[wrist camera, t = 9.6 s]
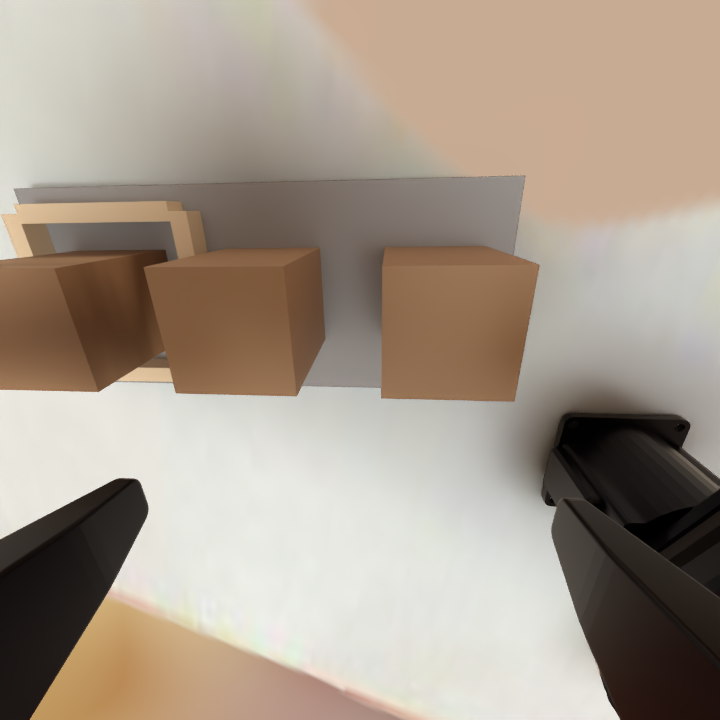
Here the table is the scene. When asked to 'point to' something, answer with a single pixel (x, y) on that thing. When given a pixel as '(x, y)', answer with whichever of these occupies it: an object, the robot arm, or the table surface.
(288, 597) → the table surface
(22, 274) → the walnut block
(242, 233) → the holder
